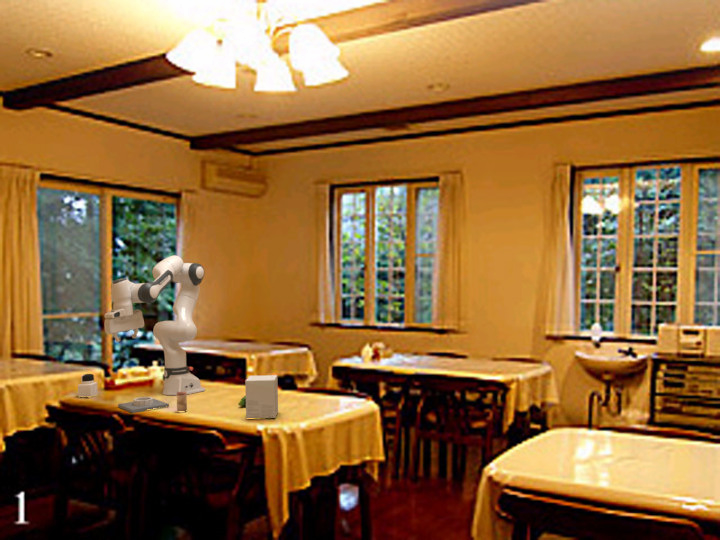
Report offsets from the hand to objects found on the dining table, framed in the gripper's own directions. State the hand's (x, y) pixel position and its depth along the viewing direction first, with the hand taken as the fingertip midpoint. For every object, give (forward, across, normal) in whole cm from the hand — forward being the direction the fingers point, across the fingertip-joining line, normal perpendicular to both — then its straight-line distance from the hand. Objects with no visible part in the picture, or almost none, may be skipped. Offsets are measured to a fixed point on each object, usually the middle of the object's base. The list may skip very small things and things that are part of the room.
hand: (126, 339), depth 312 cm
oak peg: (+34, -4, +31) cm, 46 cm away
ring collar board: (+33, -1, +6) cm, 34 cm away
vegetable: (+38, -33, +49) cm, 70 cm away
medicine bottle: (+32, -1, -41) cm, 52 cm away
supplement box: (+37, -17, +70) cm, 81 cm away
